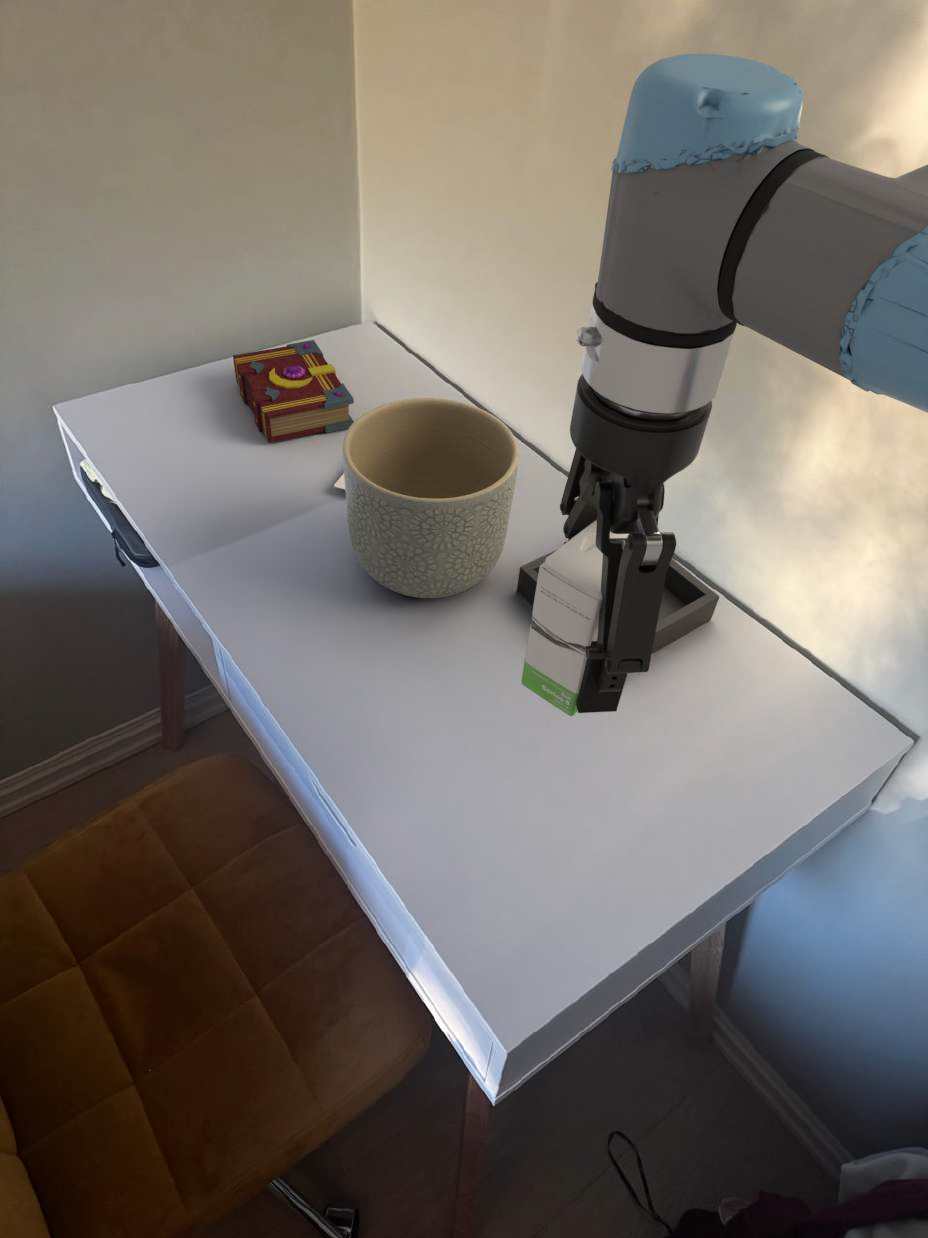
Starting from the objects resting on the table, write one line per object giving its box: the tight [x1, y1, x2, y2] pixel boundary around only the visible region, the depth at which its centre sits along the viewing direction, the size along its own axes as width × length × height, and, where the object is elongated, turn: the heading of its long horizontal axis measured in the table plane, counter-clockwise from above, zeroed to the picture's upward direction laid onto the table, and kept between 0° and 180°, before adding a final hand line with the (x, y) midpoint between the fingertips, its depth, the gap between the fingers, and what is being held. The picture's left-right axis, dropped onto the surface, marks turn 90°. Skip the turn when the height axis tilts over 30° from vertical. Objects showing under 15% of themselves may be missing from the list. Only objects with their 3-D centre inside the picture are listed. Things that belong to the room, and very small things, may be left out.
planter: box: [342, 397, 520, 599], centre depth 92 cm, size 17×17×15 cm
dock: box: [516, 548, 720, 656], centre depth 94 cm, size 14×14×4 cm
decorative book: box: [232, 339, 355, 444], centre depth 115 cm, size 11×16×5 cm
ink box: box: [521, 520, 629, 717], centre depth 63 cm, size 9×5×12 cm, turn 139°
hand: (582, 655), depth 66 cm, fingers closed on ink box, 9 cm apart
